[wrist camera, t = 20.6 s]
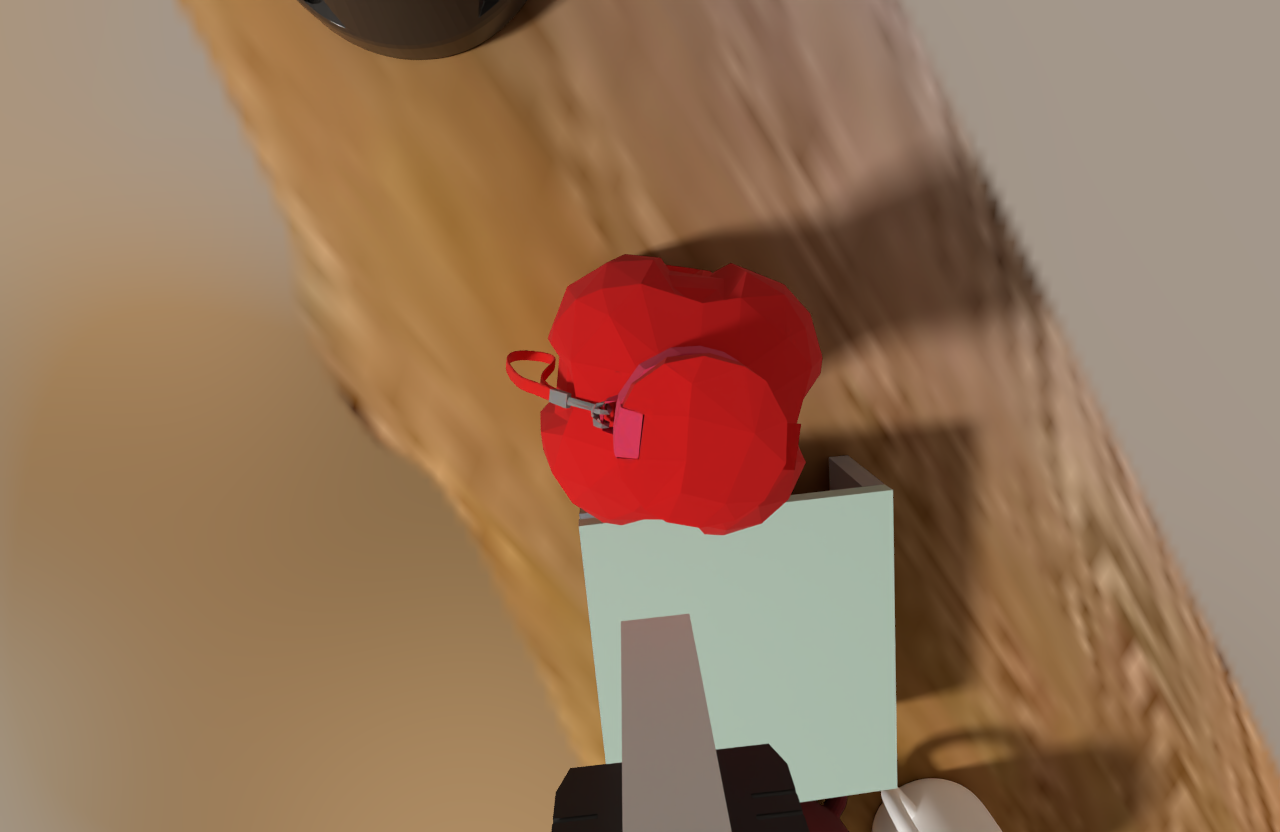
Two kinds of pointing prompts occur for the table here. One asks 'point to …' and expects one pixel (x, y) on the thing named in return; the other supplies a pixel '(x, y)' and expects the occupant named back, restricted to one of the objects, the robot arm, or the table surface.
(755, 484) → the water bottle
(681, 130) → the table surface
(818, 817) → the mug
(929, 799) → the cup
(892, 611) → the lid
